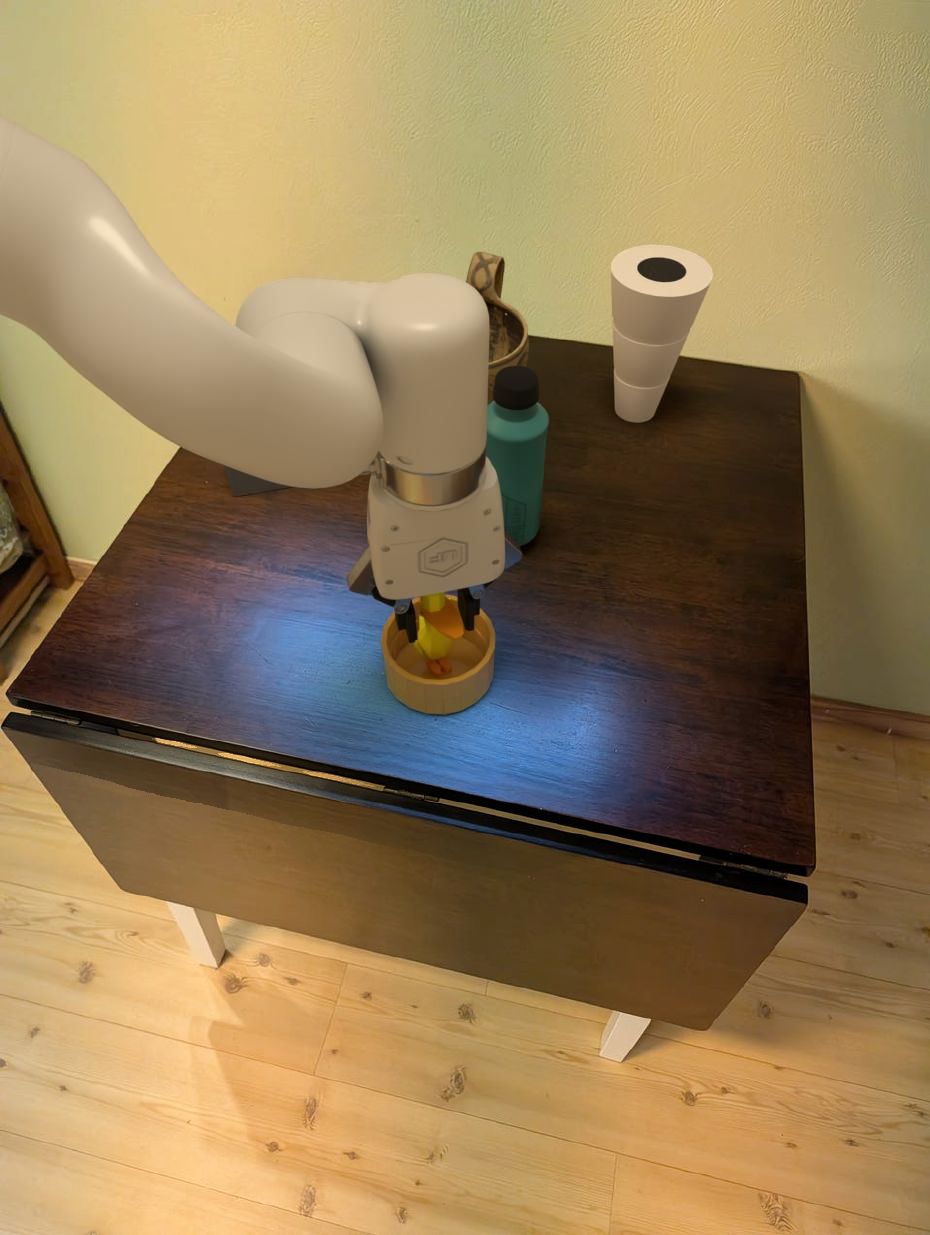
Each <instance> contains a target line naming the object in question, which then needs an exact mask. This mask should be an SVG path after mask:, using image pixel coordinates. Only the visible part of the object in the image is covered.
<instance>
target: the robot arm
mask: <svg viewBox="0 0 930 1235" xmlns="http://www.w3.org/2000/svg"><path fill="white" fill-rule="evenodd" d="M0 316H3V317H5V318H8V319H10V320H12V321H14V322H17V323H19V324H21V325H22V326H24V327H25V328H27V329H28V330H30V331H32V332H33V333H35V335H37V336H38V337H39V338H41V339H42V340H43V341H44V342H45V343H46V344H47V345H48V346H49V347H51V348H52V350H53V351H54V352H55V353H56V354H57V355H58V356H60V357H61V359H62V360H63V361H65V362H66V363H67V364H68V365H69V366H70V367H71V368H72V369H73V370H75V372H77V373H78V374H79V375H81V377H83V378H84V379H85V380H87V381H88V382H89V383H90V384H91V385H92V386H94V387H95V388H96V389H98V390H99V391H100V392H102V393H103V394H105V395H106V396H107V398H109V399H110V400H111V401H113V402H114V403H116V404H117V406H119V407H120V408H122V409H123V410H124V411H126V412H127V413H128V414H129V415H130V416H132V417H133V418H135V419H136V420H137V421H138V422H139V423H141V424H142V425H144V426H145V427H146V428H148V429H150V430H151V431H153V433H156V434H158V435H159V436H161V437H162V438H164V439H165V440H167V441H169V442H170V443H173V444H175V445H176V446H178V447H179V448H182V449H184V450H186V451H189V452H190V453H193V454H195V455H197V456H199V457H201V458H204V459H207V460H210V461H211V462H213V463H217V464H219V465H223V466H224V465H225V466H228V467H231V468H233V469H236V470H239V471H241V472H244V473H247V474H250V475H252V476H255V477H258V478H261V479H264V480H267V481H271V482H274V483H278V484H282V485H288V486H292V487H291V488H301V489H327V488H331V487H336V486H340V485H342V484H345V483H348V482H350V481H352V480H354V479H355V478H356V477H358V476H359V477H360V476H365V475H369V476H370V478H369V485H368V491H367V499H366V500H367V502H366V533H367V534H366V535H367V537H366V538H367V548H366V549H365V551H364V552H363V554H362V555H361V556H360V557H359V559H358V560H357V561H356V562H355V564H354V566H353V567H352V568H351V569H350V571H349V572H348V573H347V575H346V582H347V587H348V590H349V591H350V592H351V593H354V594H359V595H363V596H365V597H369V596H372V598H373V599H374V600H375V601H378V602H380V603H381V604H385V605H387V606H389V607H391V608H393V612H394V611H395V618H396V623H397V627H398V630H399V631H400V630H405V629H406V633H407V637H408V640H409V643H413V642H415V640H417V627H416V614H415V609H414V606H413V602H412V600H413V599H415V598H418V597H420V596H425V595H430V594H436V593H441V592H445V593H446V592H451V591H457V592H456V593H457V596H456V597H457V604H458V609H459V612H460V615H461V618H462V621H463V624H464V627H465V630H468V631H473V630H474V616H476V615H480V608H481V599H482V598H483V597H485V596H486V595H487V594H486V593H487V591H486V589H487V588H488V587H489V586H490V585H491V584H493V583H494V582H495V581H496V580H497V579H498V578H500V577H501V576H502V575H503V572H504V571H506V570H508V569H509V568H511V567H513V566H514V565H515V564H518V563H519V562H520V561H521V560H522V559H523V558H524V554H523V552H522V549H521V546H519V544H518V543H517V542H516V541H515V540H513V539H512V538H511V537H510V536H509V535H508V534H507V533H506V532H505V531H504V520H503V508H502V499H501V492H500V486H499V481H498V477H497V473H496V471H495V469H494V467H493V466H492V464H491V462H490V460H489V459H488V458H487V457H486V440H487V402H488V365H489V332H490V330H489V314H488V309H487V306H486V304H485V302H484V300H483V298H482V296H481V295H480V294H479V292H478V291H477V290H476V289H475V288H474V287H472V286H471V285H470V284H468V283H466V281H464V280H462V279H461V278H458V277H455V276H453V275H450V274H445V273H439V272H416V273H410V274H406V275H402V276H399V277H396V278H393V279H391V280H389V281H386V282H385V281H383V282H382V281H358V280H348V279H347V280H346V279H335V278H323V277H305V276H303V277H302V276H301V277H300V276H299V277H298V276H297V277H285V278H278V279H274V280H271V281H269V282H265V283H263V284H261V285H259V286H258V287H256V288H255V289H253V291H251V292H250V293H249V294H248V295H247V296H246V298H244V300H243V302H242V303H241V305H240V307H239V309H238V311H237V314H236V318H235V324H233V323H232V322H230V321H229V320H227V319H226V318H225V317H223V316H222V315H220V314H219V313H218V312H216V311H215V310H214V309H213V308H212V307H210V306H209V305H208V304H206V303H205V302H204V301H203V300H202V299H201V298H199V296H197V295H196V294H195V293H194V292H192V291H191V290H190V289H189V288H188V287H187V285H186V284H184V283H183V282H182V281H181V280H180V278H178V277H177V276H176V274H175V273H174V272H173V271H172V269H170V268H169V266H168V265H167V264H166V263H165V261H163V259H162V258H161V256H160V255H159V254H158V253H157V252H156V250H155V249H154V248H153V246H152V245H151V243H150V242H149V241H148V240H147V238H146V236H145V234H144V233H143V231H142V230H141V229H140V227H139V226H138V224H137V223H136V222H135V220H134V218H133V217H132V215H131V214H130V213H129V211H128V210H127V208H126V206H125V205H124V204H123V202H122V201H121V200H120V198H119V197H118V195H117V194H116V193H115V192H114V191H113V190H112V188H111V187H110V186H109V185H108V183H107V182H106V181H105V180H104V179H103V177H101V175H99V173H97V171H95V170H94V169H93V168H92V167H91V166H90V165H89V164H88V163H87V162H86V161H84V160H83V159H82V158H81V157H79V156H78V155H76V154H74V153H73V152H71V151H69V150H68V149H66V148H63V147H61V146H60V145H58V144H55V143H54V142H52V141H51V140H49V139H46V138H45V137H42V135H39V134H38V133H35V132H34V131H31V130H30V129H28V128H27V127H25V126H23V125H21V124H20V123H17V122H16V121H13V120H11V119H9V118H8V117H5V116H3V115H2V114H0ZM225 466H224V467H225Z"/></svg>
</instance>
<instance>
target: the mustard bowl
mask: <svg viewBox="0 0 930 1235" xmlns="http://www.w3.org/2000/svg"><path fill="white" fill-rule="evenodd" d="M445 596H446V597H447V598H448V599H449V600H450V602H451V603H452V604H453V605H454V607H455V609H456V610H457V612H458V613H459V615H460V612H459V609H458V604H457V596H456V595H453V594H445ZM418 598H420V596H419V597H414V598H412V602H413V606H414V609H415V614H416V627H417V641H418V631H419V630H420V626H419V615H420V616H422V617H423V615H422V614H421V611H420V607H419V602H418ZM460 617H461V615H460ZM461 620H462V618H461ZM462 623H463V621H462ZM463 632H464V634H463V636H462V637H461V638H460V639H453V640H451V649H450V650H449V651H448V653H447V654H446V655H445V656H444V658H446V659H448V660H449V661H450V664H451V668H452V670H451V671H450V672H448V673H447V672H445V671H443V670H442V669H441V672H442V676H440V677H438V678H437V677H436V676H434V675H433V674H432V673H431V672H430V670H429V668H428V665H427V661H429V657H427V656H425V655H423V656H422V655H421V654H419V653H418V652H417V650H416V649H415V647H414V643H409V640H408V637H407V633H406V629H405V630H400V631H399V630H398V627H397V623H396V618H395V611H394V610H393V612H392V613H391V614H390V615H389V616H388V618H387V619H386V622H385V624H384V625H383V627H382V631H381V638H380V646H381V656H382V661H383V663H382V664H383V670H384V671H383V672H384V676H385V681H386V684H387V687H388V689H389V690H390V692H391V693H392V694H393V696H394V697H395V699H397V700H398V701H399V702H401V703H402V704H404V705H405V706H406V707H408V709H411V710H414V711H417V712H419V713H422V714H423V713H424V714H427V715H449V714H453V713H458V712H462V711H464V710H466V709H467V708H469V707H471V706H473V705H475V704H476V703H478V702H479V701H480V699H482V697H483V696H484V695H485V694H487V692H488V691H489V689H490V686H491V684H492V682H493V680H494V673H495V672H494V670H495V655H496V654H495V652H496V631H495V628H494V625H493V622H492V620H491V618H490V617H489V616H488V615H487V613H486V612H485V611H484V610H483V609H482V608H481V607H480V615H476V616H474V630H473V631H468V630H465V627H464V624H463ZM434 661H435V662H436V660H434ZM436 663H437V662H436Z"/></svg>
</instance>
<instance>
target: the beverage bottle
mask: <svg viewBox="0 0 930 1235" xmlns="http://www.w3.org/2000/svg"><path fill="white" fill-rule="evenodd" d="M493 399H494V401H493V402H491V403H490V404H489V405H488V406H487V440H486V457H487V458H488V459H489V460H490V462H491V464H492V466H493V467H494V469H495V471H496V473H497V477H498V481H499V486H500V492H501V499H502V508H503V520H504V531H505V532H506V533H507V534H508V535H509V536H510V537H511V538H512V539H513V540H515V541H516V542H517V543H518V544H519V547H521V546H524V545H527V544H528V543H531V541H533V540H534V538H535V537H536V536H537V533H539V531H540V530H541V528H540V526H541V525H542V523H541V520H542V514H543V506H544V504H543V503H544V501H543V495H544V491H545V490H544V489H545V486H544V482H545V479H544V478H545V470H546V469H545V459H546V447H547V438H548V428H549V425H550V424H549V423H550V417H549V414H548V411H547V410H546V408H545V407H544V406H542V404H541V403H540V402H539V399H540V380H539V376H538V374H537V373H536V371H534V370H533V369H531V368H529V367H528V366H527V367H524V366H509V367H505V368H503V369H501V370H500V371H499V372H498V373H497V374H496V376H495V381H494V388H493Z"/></svg>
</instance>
